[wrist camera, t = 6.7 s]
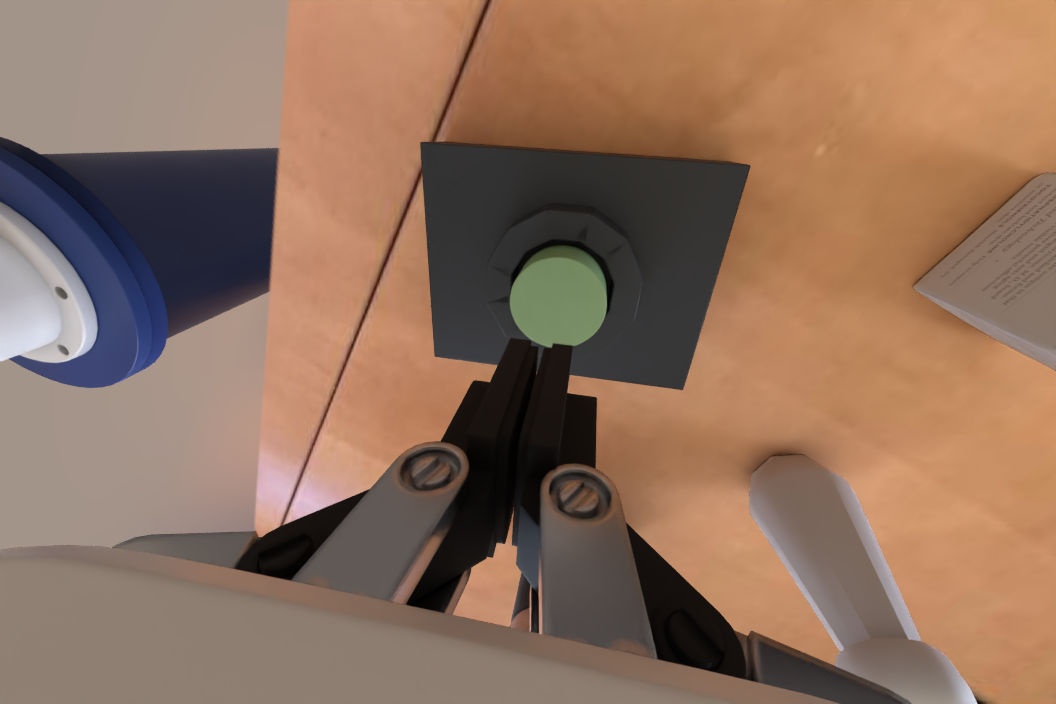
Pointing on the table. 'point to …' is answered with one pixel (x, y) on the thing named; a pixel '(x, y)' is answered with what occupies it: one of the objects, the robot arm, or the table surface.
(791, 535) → the salt shaker
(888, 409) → the table surface
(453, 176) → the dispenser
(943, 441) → the table surface
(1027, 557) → the table surface
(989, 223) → the product box
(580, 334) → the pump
